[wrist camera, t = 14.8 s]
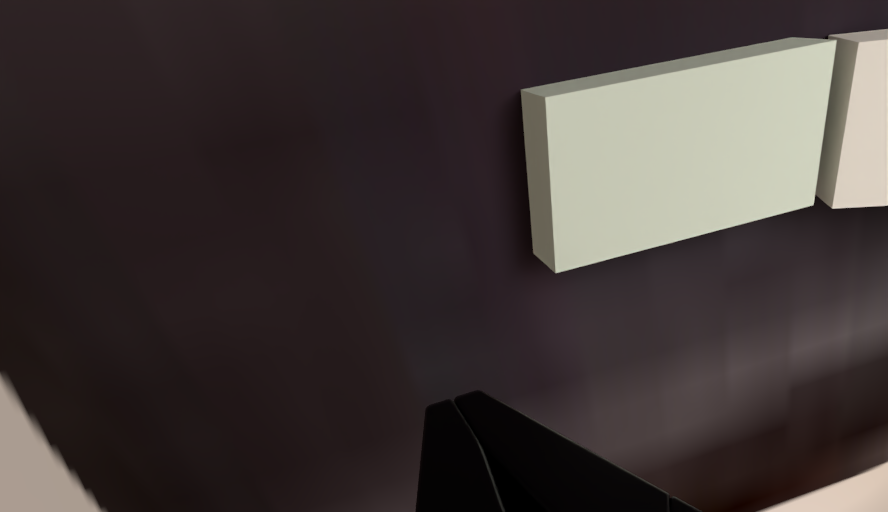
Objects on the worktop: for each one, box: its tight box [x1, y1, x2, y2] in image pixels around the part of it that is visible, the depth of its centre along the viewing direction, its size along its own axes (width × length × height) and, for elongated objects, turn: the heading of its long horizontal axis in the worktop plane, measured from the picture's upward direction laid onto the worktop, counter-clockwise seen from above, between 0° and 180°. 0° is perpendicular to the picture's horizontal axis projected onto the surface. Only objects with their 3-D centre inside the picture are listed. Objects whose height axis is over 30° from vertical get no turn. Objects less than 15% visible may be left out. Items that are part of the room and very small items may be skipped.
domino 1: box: [521, 37, 837, 273], centre depth 18 cm, size 2×5×9 cm
